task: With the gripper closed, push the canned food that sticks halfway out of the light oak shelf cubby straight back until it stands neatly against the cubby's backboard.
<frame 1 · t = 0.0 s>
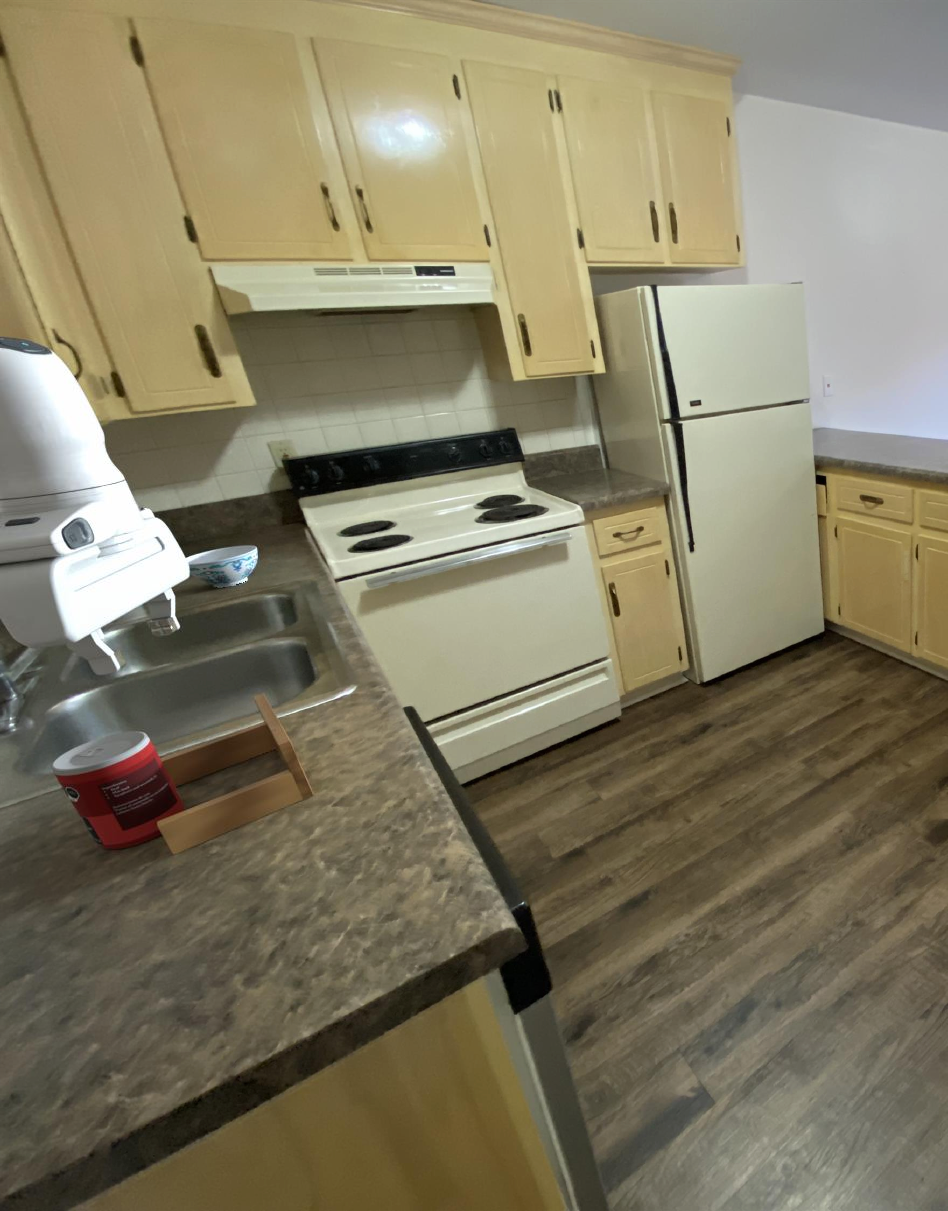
hand: (142, 651, 67), 23 cm above the countertop, tool pointing down, fingers open, 8 cm apart
chinaware: (231, 584, 167), on the countertop
canned food: (145, 829, 78), on the countertop
shelf cubby: (236, 791, 83), on the countertop
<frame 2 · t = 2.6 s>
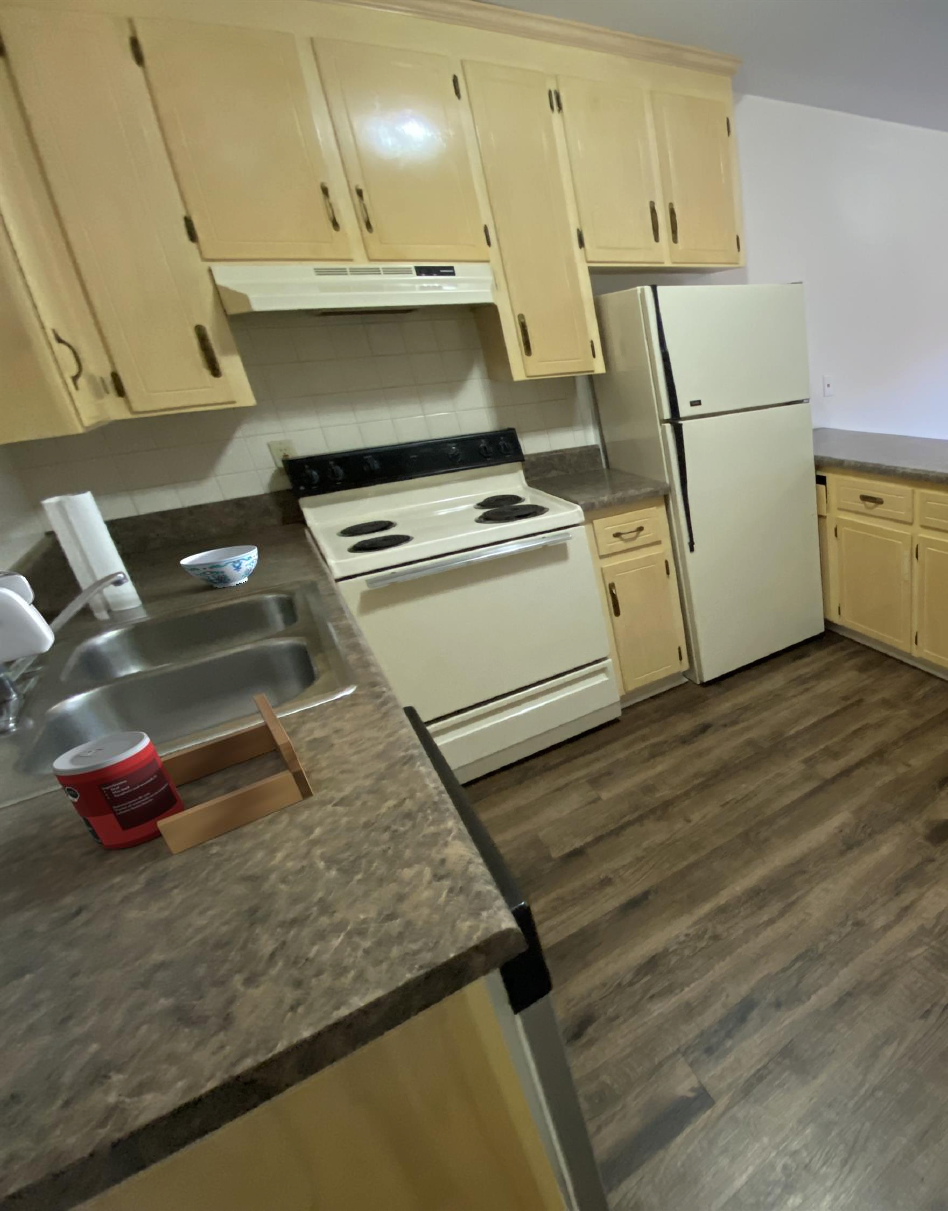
nothing on the countertop moved.
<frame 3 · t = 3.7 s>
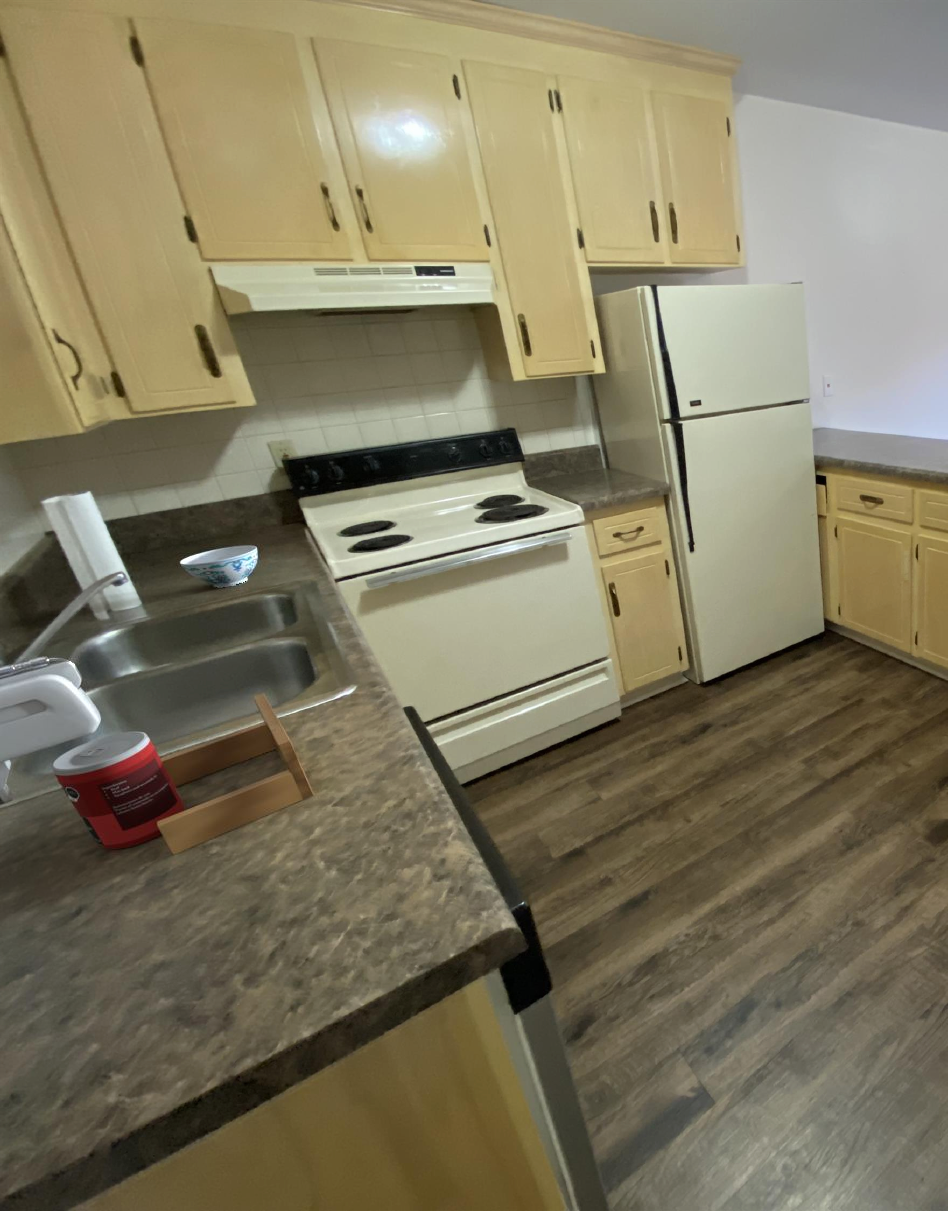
nothing on the countertop moved.
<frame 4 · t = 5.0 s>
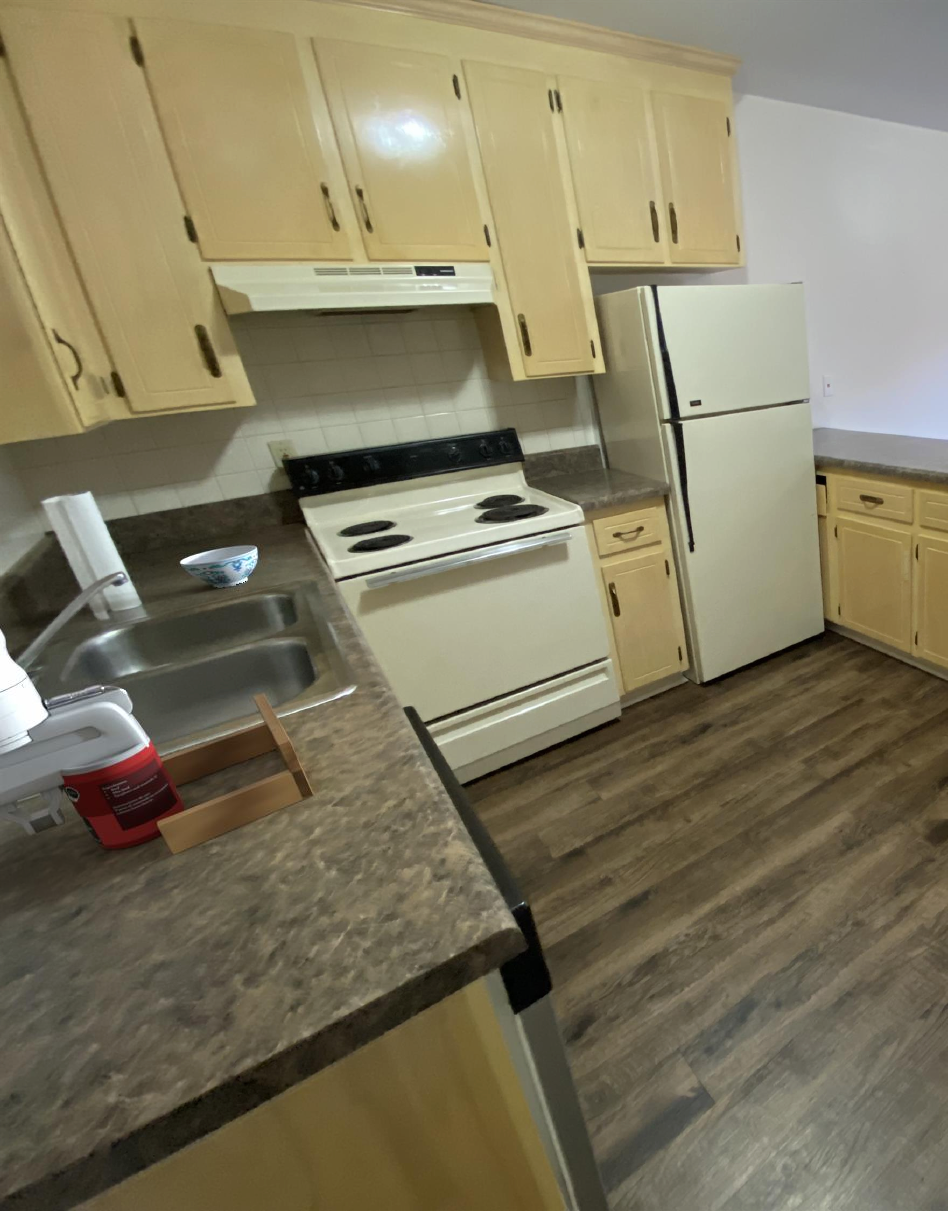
hand: (48, 827, 72), 4 cm above the countertop, tool pointing down, fingers closed
canned food: (145, 829, 78), on the countertop, touching gripper
everything else where it was.
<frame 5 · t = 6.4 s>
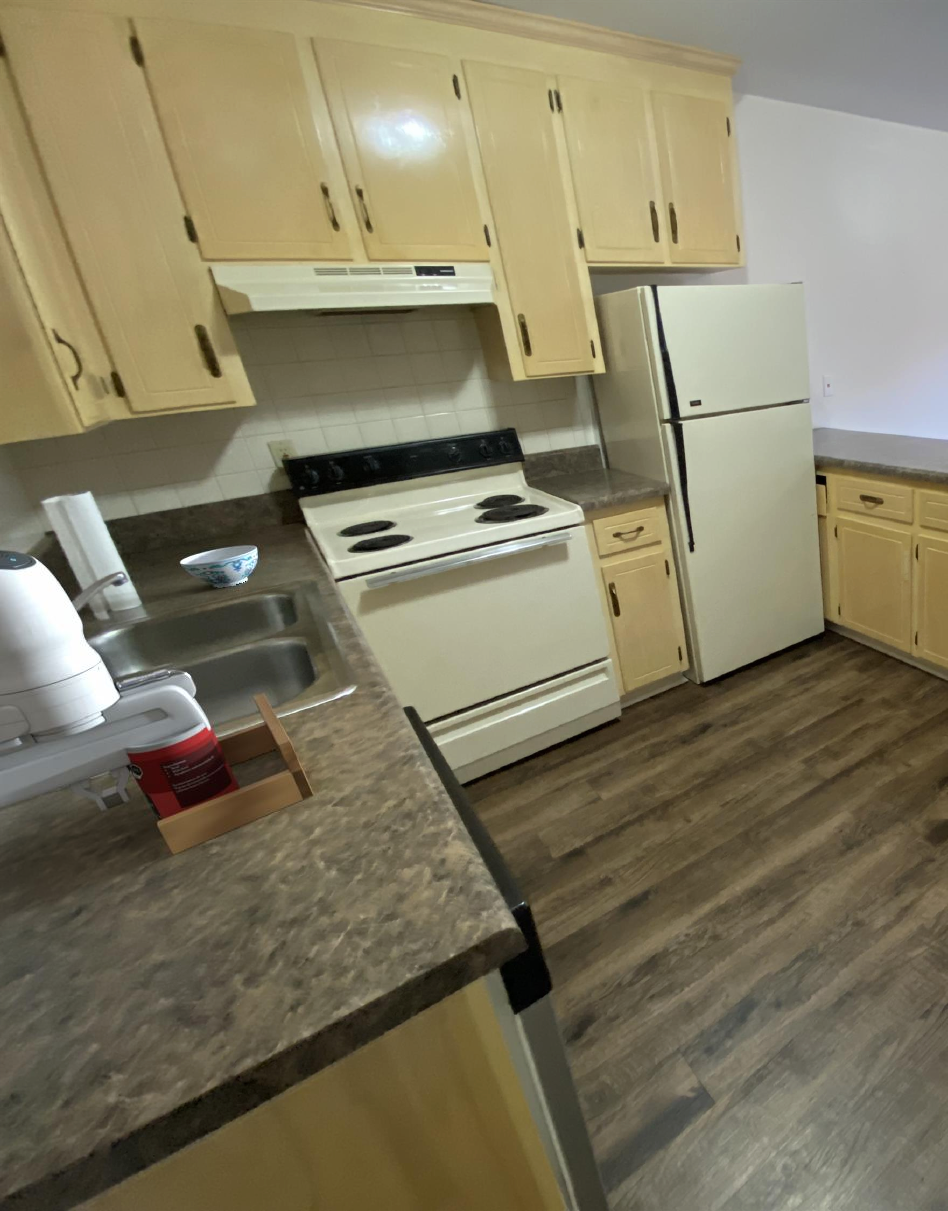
hand: (117, 803, 75), 4 cm above the countertop, tool pointing down, fingers closed
canned food: (202, 807, 81), on the countertop, touching gripper
everything else where it was.
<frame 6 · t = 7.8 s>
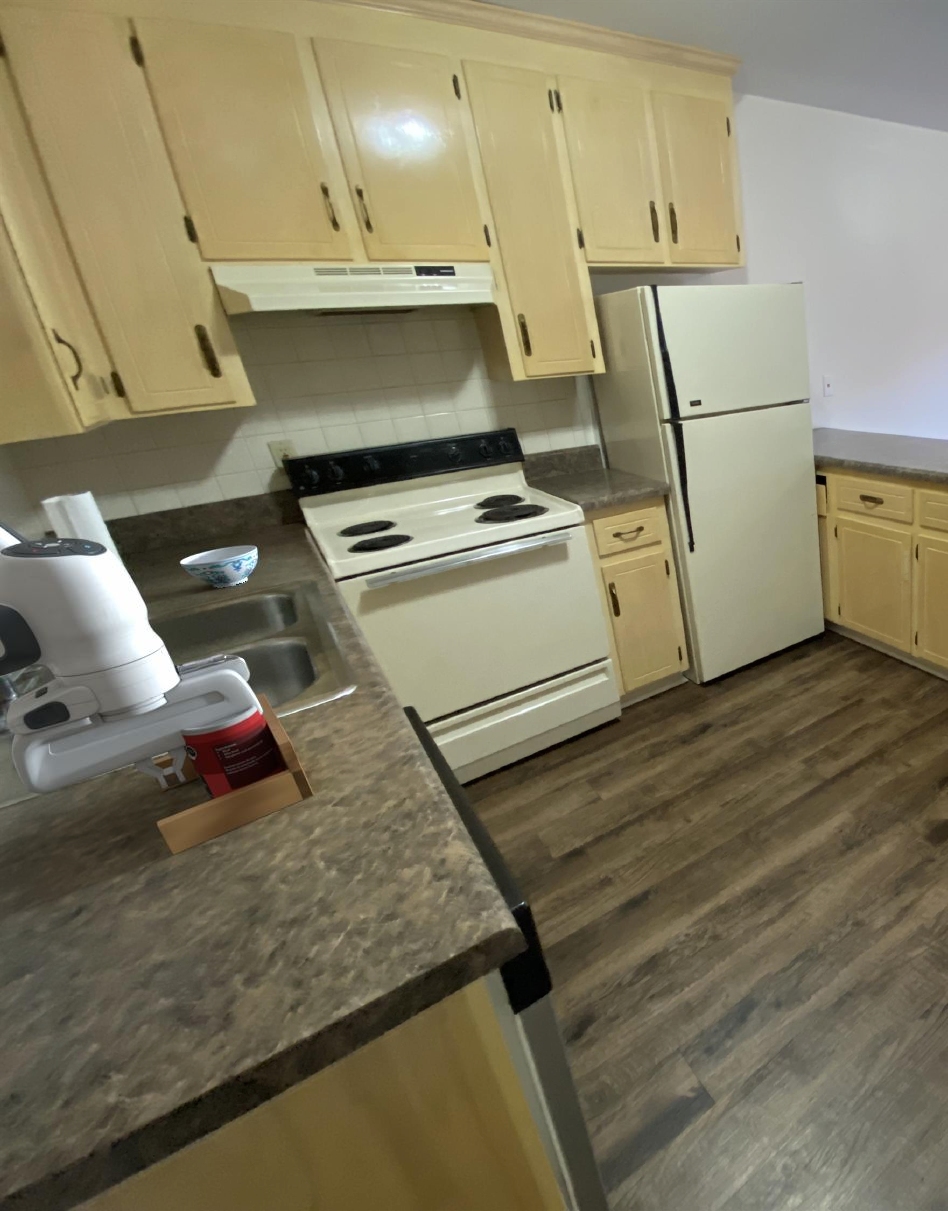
hand: (175, 782, 78), 4 cm above the countertop, tool pointing down, fingers closed
canned food: (252, 788, 84), on the countertop, touching gripper, shelf cubby
everything else where it was.
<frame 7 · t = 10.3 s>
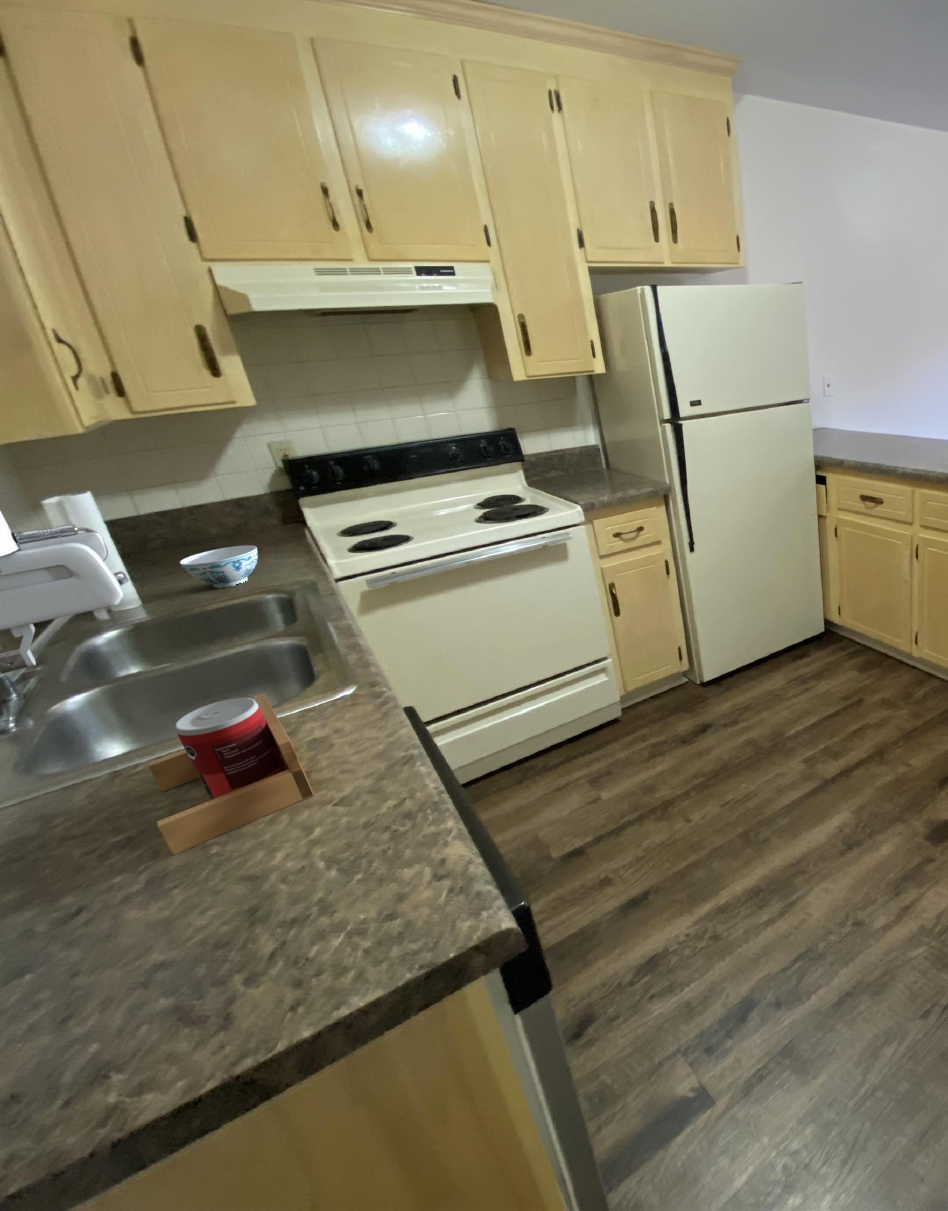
hand: (15, 669, 70), 21 cm above the countertop, tool pointing down, fingers closed
canned food: (252, 788, 84), on the countertop
everything else where it was.
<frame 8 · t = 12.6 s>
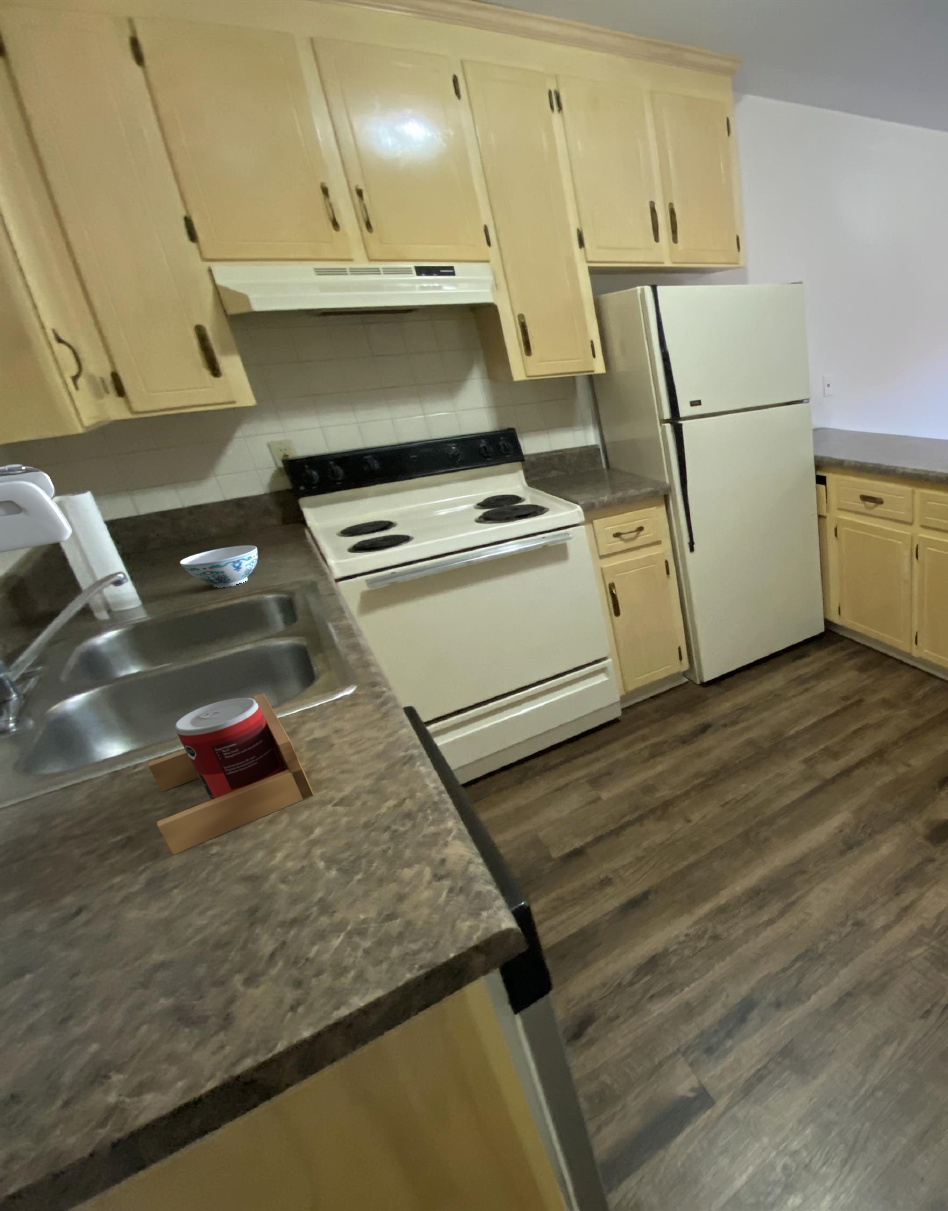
nothing on the countertop moved.
at the end: canned food 0.8 cm from the target spot, on the countertop; canned food tilted 0° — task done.
